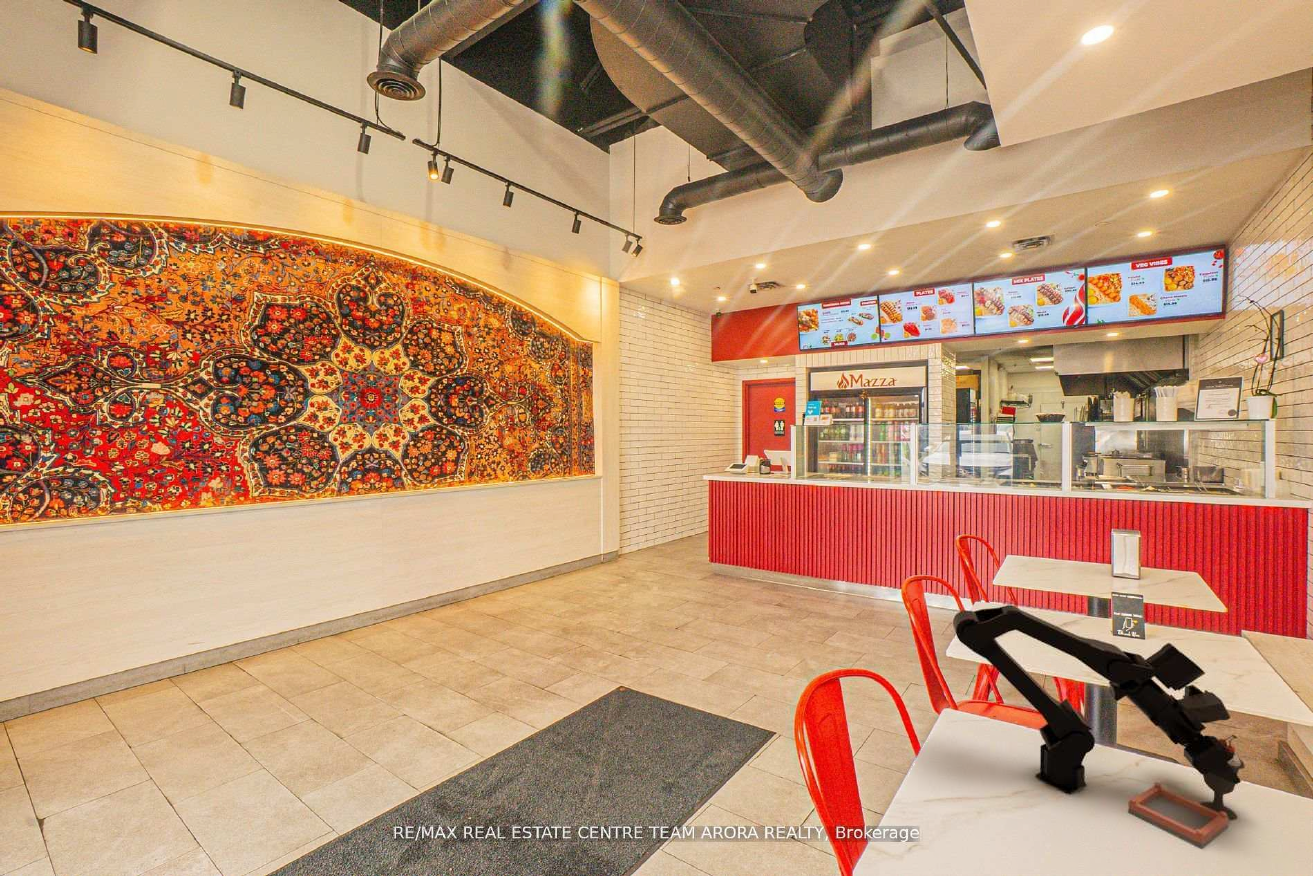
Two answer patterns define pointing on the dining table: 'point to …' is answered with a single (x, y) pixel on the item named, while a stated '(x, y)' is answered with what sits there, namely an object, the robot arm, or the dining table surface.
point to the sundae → (1223, 783)
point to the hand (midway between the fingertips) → (1228, 772)
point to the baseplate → (1179, 815)
